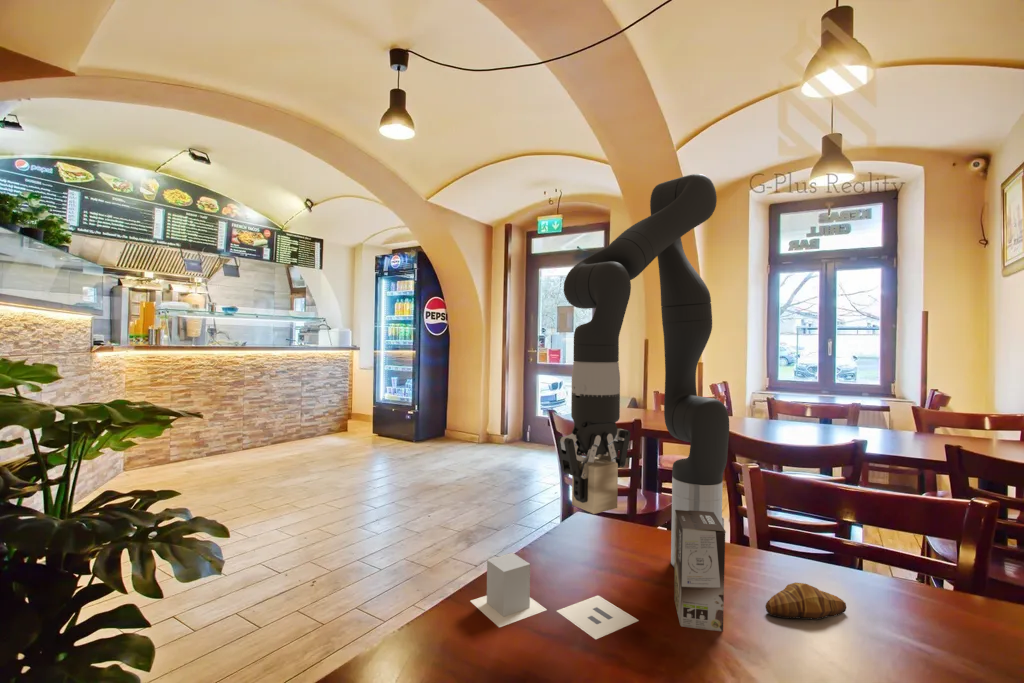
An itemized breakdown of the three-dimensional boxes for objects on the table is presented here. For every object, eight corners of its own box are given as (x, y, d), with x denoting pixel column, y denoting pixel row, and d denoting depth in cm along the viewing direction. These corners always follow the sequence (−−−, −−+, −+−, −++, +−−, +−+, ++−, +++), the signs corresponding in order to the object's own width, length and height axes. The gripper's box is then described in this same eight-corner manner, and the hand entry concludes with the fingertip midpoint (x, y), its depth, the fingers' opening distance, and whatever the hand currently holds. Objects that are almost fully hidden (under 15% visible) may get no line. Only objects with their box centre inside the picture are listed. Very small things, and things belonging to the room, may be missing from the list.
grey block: (512, 594, 85) (512, 552, 85) (529, 607, 81) (530, 564, 81) (486, 602, 82) (487, 559, 82) (503, 617, 78) (503, 571, 78)
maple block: (594, 499, 84) (595, 456, 83) (617, 507, 79) (617, 463, 79) (572, 504, 81) (572, 460, 81) (593, 514, 77) (594, 467, 76)
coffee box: (725, 640, 75) (726, 531, 75) (679, 634, 76) (681, 527, 76) (713, 607, 84) (715, 510, 84) (672, 603, 85) (674, 507, 85)
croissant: (828, 601, 87) (829, 572, 87) (859, 623, 80) (860, 592, 80) (754, 605, 85) (754, 575, 85) (779, 628, 79) (780, 596, 79)
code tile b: (515, 593, 88) (515, 586, 88) (547, 617, 80) (547, 609, 80) (469, 608, 83) (469, 600, 83) (499, 635, 75) (499, 627, 75)
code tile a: (597, 602, 85) (597, 595, 85) (638, 628, 78) (639, 620, 78) (556, 618, 80) (556, 610, 80) (595, 647, 73) (595, 639, 73)
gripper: (610, 386, 87) (609, 484, 87) (544, 390, 79) (543, 499, 79) (644, 390, 81) (643, 496, 81) (577, 395, 73) (576, 513, 73)
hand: (594, 497), depth 80 cm, fingers closed on maple block, 5 cm apart
